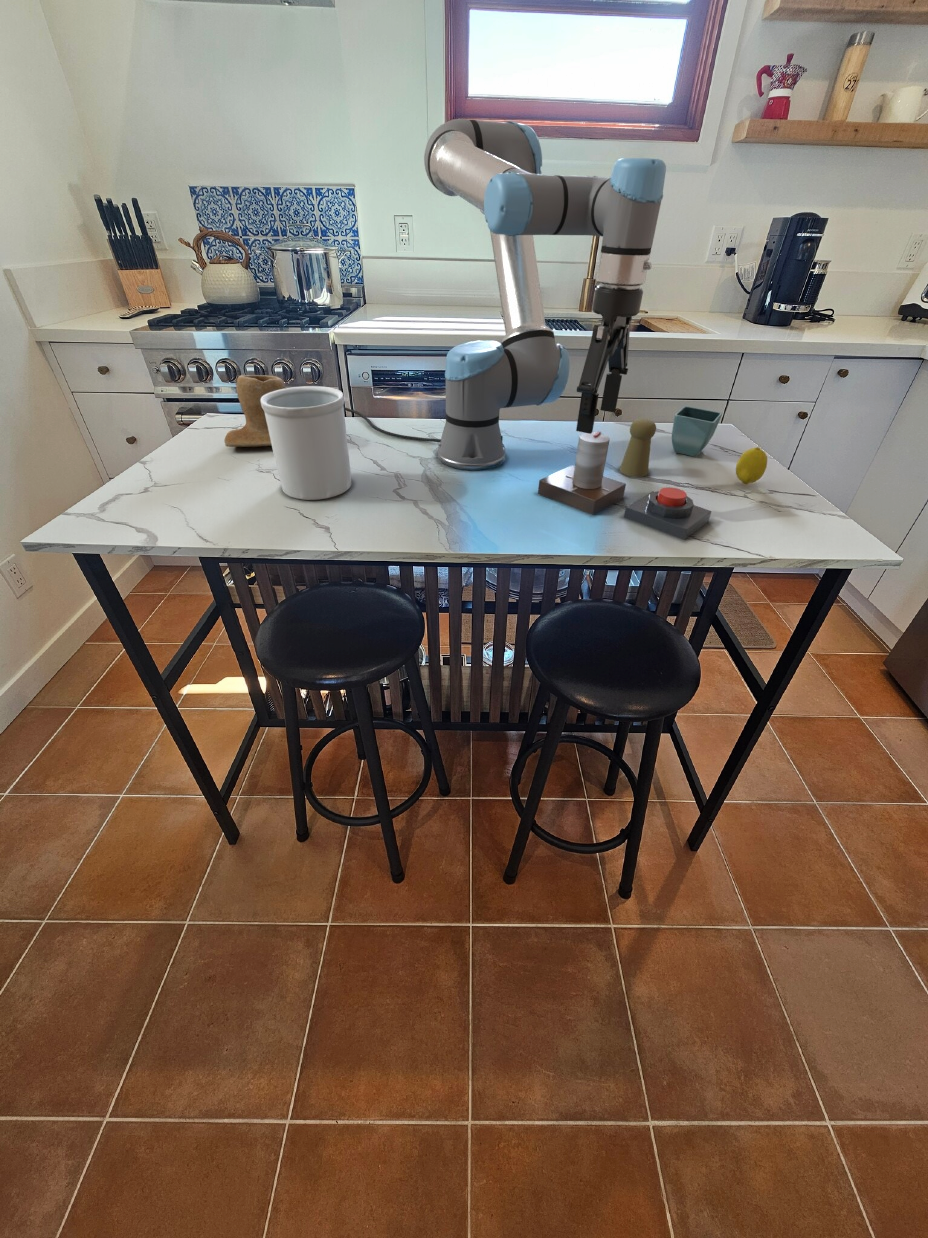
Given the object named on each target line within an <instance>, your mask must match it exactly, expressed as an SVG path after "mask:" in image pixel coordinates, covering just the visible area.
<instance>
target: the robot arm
mask: <svg viewBox="0 0 928 1238" xmlns="http://www.w3.org/2000/svg"><path fill="white" fill-rule="evenodd" d="M423 163H424V169H425V173H426V176H427V179H428V180H429V182H430V183H431V185H432V186H433V187H434V188H435V189H436V190H438V191H439V192H441V193H442V194H444V195H446V196H448V197H460V198H461V199H463V200H464V201H466V202H467V203H469V204H470V205H472V206H474V207H475V208H476V209H478V210H479V211H480V212H481V213H482V215H484V219H485V222H486V224H487V227H488V229H489V232H490V238H491V246H492V252H493V259H494V260H493V261H494V265H495V266H494V267H495V272H496V273H495V274H496V278H497V286H498V292H499V300H500V306H501V312H502V320H503V325H504V332H505V333H504V334H505V335H504V337H503V338H502V340H501V342H500V341H497V340H492V339H491V340H489V339H486V340H472V341H466V342H464V343H460V344H458V345H456V346H454V347H452V348H451V349H450V350H449V351H448V352H447V353H446V358H445V371H444V378H445V424H444V427H443V429H442V430H443V431H442V434H441V436H440V437H441V438H429V437H419V436H411V435H405V434H404V435H403V434H399V433H396V432H390V431H388V430H385V429H383V428H380V427H378V426H376V425H375V424H373V422H372V421H371V419H369V418H368V417H367V416H366V415H364V414H363V413H361V412H359V411H357V410H354V409H351V408H348V407H346V406H343V407H344V411H346V412H349V413H352V414H356V415H357V416H359V417H361V418H362V419H363V420H365V421H366V422H367V423H368V425H369V426H370V427H371V428H372V429H374V430H375V431H377V432H379V433H381V434H385V435H387V436H391V437H394V438H400V439H405V440H412V441H419V442H431V443H438V446H437V459H438V461H439V462H440V463H442V464H443V465H445V466H448V467H450V468H454V469H459V470H466V471H481V470H489V469H492V468H495V467H498V466H499V465H501V464H503V463H504V462H505V460H506V448H505V444H504V443H503V440H504V439H503V438H504V436H503V435H502V432H501V427H500V411H501V409H508V408H518V407H527V406H541V405H545V404H551V403H555V402H556V401H557V400H559V398H560V397H562V395H563V393H564V391H565V389H566V386H567V384H568V381H569V377H570V356H569V355H570V354H569V352H568V350H567V349H566V347H565V346H564V345H562V344H561V343H556V339H555V332H554V330H552V329H551V328H550V327H548V326H547V325H546V320H545V312H544V303H543V298H542V297H543V296H542V289H541V283H540V277H539V270H538V269H539V268H538V261H537V254H536V246H535V240H534V236H594V237H602V242H601V248H600V253H599V258H598V266H597V272H596V277H595V281H596V282H597V283H598V285H597V286H596V287H595V288H594V294H593V301H592V307H591V309H592V312H593V313H594V314H596V315H601V317H602V318H601V321H600V325H599V324H594V325H593V327H592V333H591V339H590V343H589V347H588V350H587V354H586V358H585V362H584V365H583V369H582V372H581V376H580V380H579V383H578V386H576V393H581V396H580V401H579V409H578V415H577V422H576V428H575V432H579V433H589V434H591V433H592V432H594V425H595V419H596V413H597V407H598V401H599V396H600V394H599V393H598V392H599V387H600V386H601V382H602V379H603V376H604V374H605V371H606V368H607V365H608V373H606V376H605V382H604V386H603V392H602V399H601V403H600V411H603V412H608V413H615V412H616V410H617V404H618V401H619V394H620V389H621V384H622V379H623V375H624V376H626V375H628V372H629V368H628V365H629V364H628V362H629V361H628V360H629V346H630V333H631V324H632V319H633V317H635V316H637V315H638V314H639V313H640V310H641V305H642V301H643V295H644V290H643V288H642V287H641V286H643V285H644V284H645V283H646V278H647V272H648V271H650V270H651V269H652V267H653V264H652V262H651V261H649V260H650V258H651V257H650V256H651V253H652V247H653V243H654V239H655V234H656V229H657V223H658V218H659V214H660V210H661V204H662V200H663V198H664V188H665V187H664V185H665V180H666V173H667V165H666V163H665V162H664V160H663V159H659V158H649V157H648V158H647V157H646V158H645V157H625V158H623V157H622V158H619V159H617V160H616V161H615V162H614V165H613V168H612V172H611V176H599V175H598V176H597V175H592V176H590V175H560V174H554V175H553V174H552V175H551V174H542V170H541V169H542V168H541V167H543V152H542V147H541V143H540V140H539V137H538V135H537V133H536V132H535V130H534V129H533V128H532V126H530V125H528V124H526V123H519V122H517V121H514V120H506V121H493V120H482V119H481V120H480V119H470V118H454V119H451V120H447V121H446V122H444V123H443V124H440V125H439V126H438V127H437V128H435V130H434V131H433V132H432V133H431V134H430V136H429V138H428V140H427V142H426V145H425V149H424V155H423Z"/></svg>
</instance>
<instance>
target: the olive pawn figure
mask: <svg viewBox="0 0 928 1238" xmlns="http://www.w3.org/2000/svg"><path fill="white" fill-rule="evenodd" d="M656 431H657V425H656V422H654V421H653V420H650V419H648V418H647V419H645V418H638V419H635V420H633V421H632V423H631V425H630V427H629V434H630V439H629V441H628V445H627V448H626V450H625V453H624V455H623V459H622V462H621V465H620V468H619V472H620V473H621V474H623V475H625V476H627V477H633V478H642V477H646V476H647V475H648V474H649V465H650V456H651V455H650V453H651V445H652V444H651V443H652V438H653V437H654V436H655V434H656Z"/></svg>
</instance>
